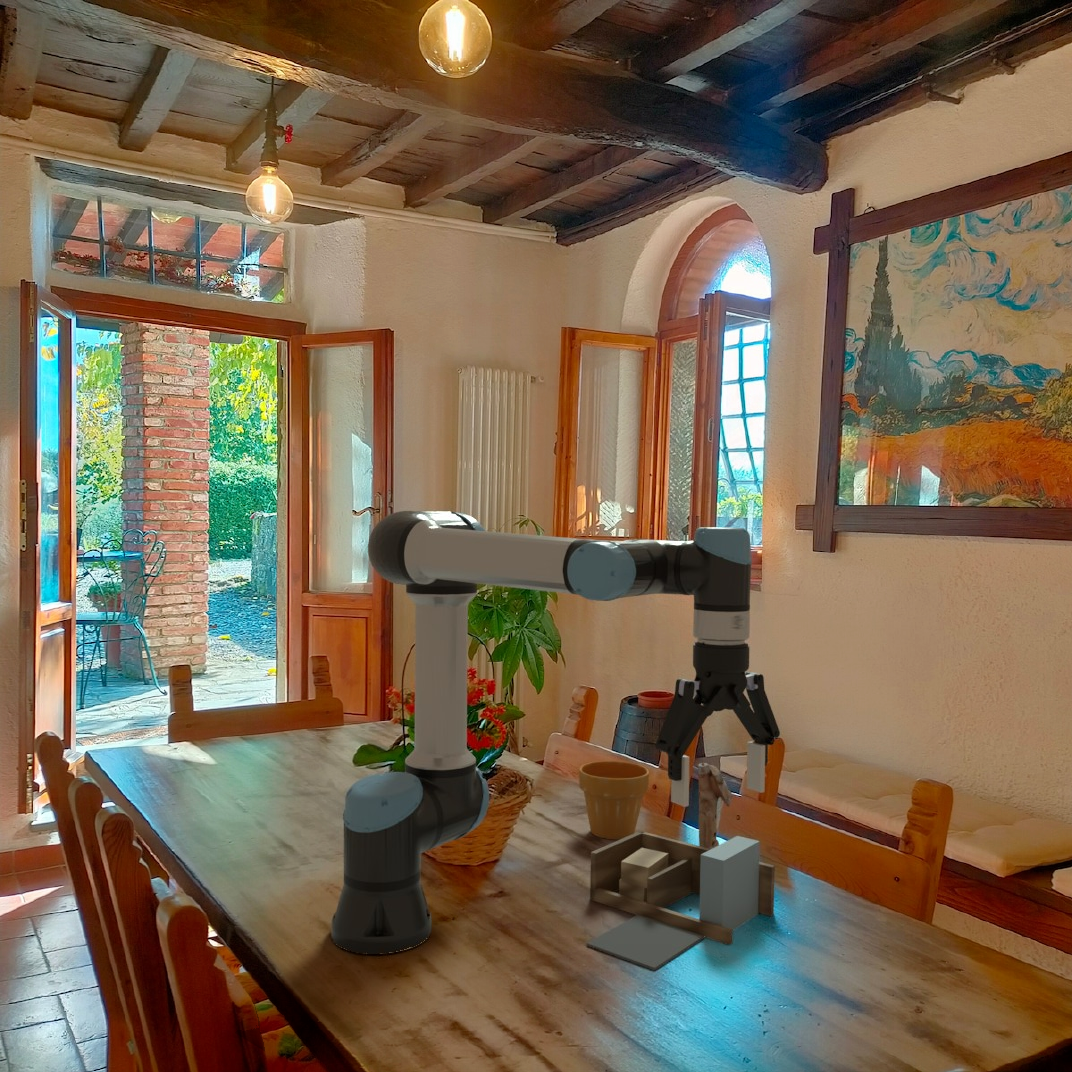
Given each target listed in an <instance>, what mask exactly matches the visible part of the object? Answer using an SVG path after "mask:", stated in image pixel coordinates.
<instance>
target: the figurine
mask: <svg viewBox="0 0 1072 1072" xmlns="http://www.w3.org/2000/svg"><path fill="white" fill-rule="evenodd" d="M697 776H698V777H697V779H698V792H697V793H698V806H699V807H698V846H701V847H705V848H709V849H713V848H715V847H717V846H718V845H720V843H719V840H718V839H717V833H718V832H717V829H718V828H717V821H718V820H717V817H718V816H717V814H718V813H717V812H718V801H719V799H721V800H722V801H723V803H724V804H725V806H727V807H731V804H732V799H733V794H732V792H731V790H729V789H728V784H727V783H726V781H725V780H724V778H723V776H722V773H721V771H720V770H719V769H718V767H717V766H714V765H712V764H709V763H707V762H701V763H698V765H697Z"/></svg>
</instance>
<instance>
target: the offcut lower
mask: <svg viewBox="0 0 1072 1072" xmlns="http://www.w3.org/2000/svg"><path fill="white" fill-rule="evenodd" d="M618 894H621V895H624V896H627V897H630V898H633V899H637V900H640V901H643V902H646V903H647V888H643V887H639V886H635V885H630V884H626V883H622V882H621V879H620V880H619V889H618Z"/></svg>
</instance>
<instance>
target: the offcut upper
mask: <svg viewBox="0 0 1072 1072" xmlns="http://www.w3.org/2000/svg"><path fill="white" fill-rule="evenodd" d="M666 868H668V853H664V852H660V851H655V850H650V849H646V848H641V849H639V850H638V851H636V852H635V853H633V854H632V855H630V856H629V857H627V858H626V859H624V860H623V861H621V882H622V883H626V884H630V885H635V886H639V887H643V888H647V878H649V877H651V876H653V875H655V874H657V873H659V872H661V871H662V870H664V869H666Z"/></svg>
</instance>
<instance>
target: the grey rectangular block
mask: <svg viewBox="0 0 1072 1072" xmlns="http://www.w3.org/2000/svg"><path fill="white" fill-rule="evenodd" d="M760 844H761V843H760V841H759V840H757V839H753V838H749V837H748V838H747V837H743V836H739V835H736V836H734V837H732V838H730V839H728V840H726V841H724V842H723V843H721V844H720V843H719V845H718V846H717V847H715V848H713V849H711V850H709V851H707V852H705V853H703V854H701V864H700V895H699V918H698V919H700V920H703V921H706V922H710V923H713V924H716V925H719V926H722V927H725V928H729V929H732V930H733V932H734V931H735V930H737V929H738V928H740V927H741V926H743V925H745V924H746V923H747V922H749V921H750V920H752V919H753V918H755V917H756V916H757V915H759V913H758V895H759V862H760Z"/></svg>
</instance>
